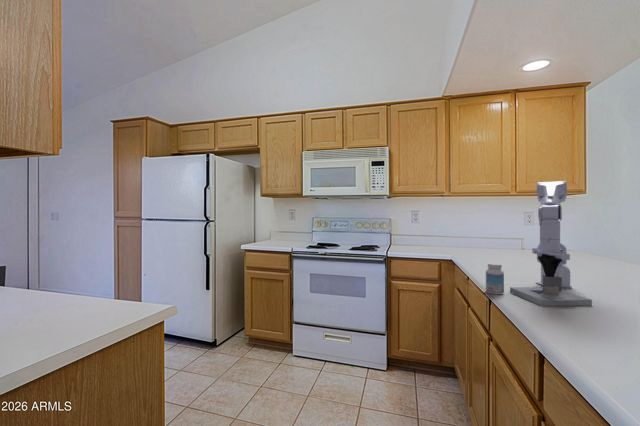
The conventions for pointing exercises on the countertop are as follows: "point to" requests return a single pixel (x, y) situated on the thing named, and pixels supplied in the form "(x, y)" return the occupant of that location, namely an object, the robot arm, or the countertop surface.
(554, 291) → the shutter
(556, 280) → the plug
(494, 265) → the pill bottle
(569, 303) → the socket panel
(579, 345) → the countertop surface
